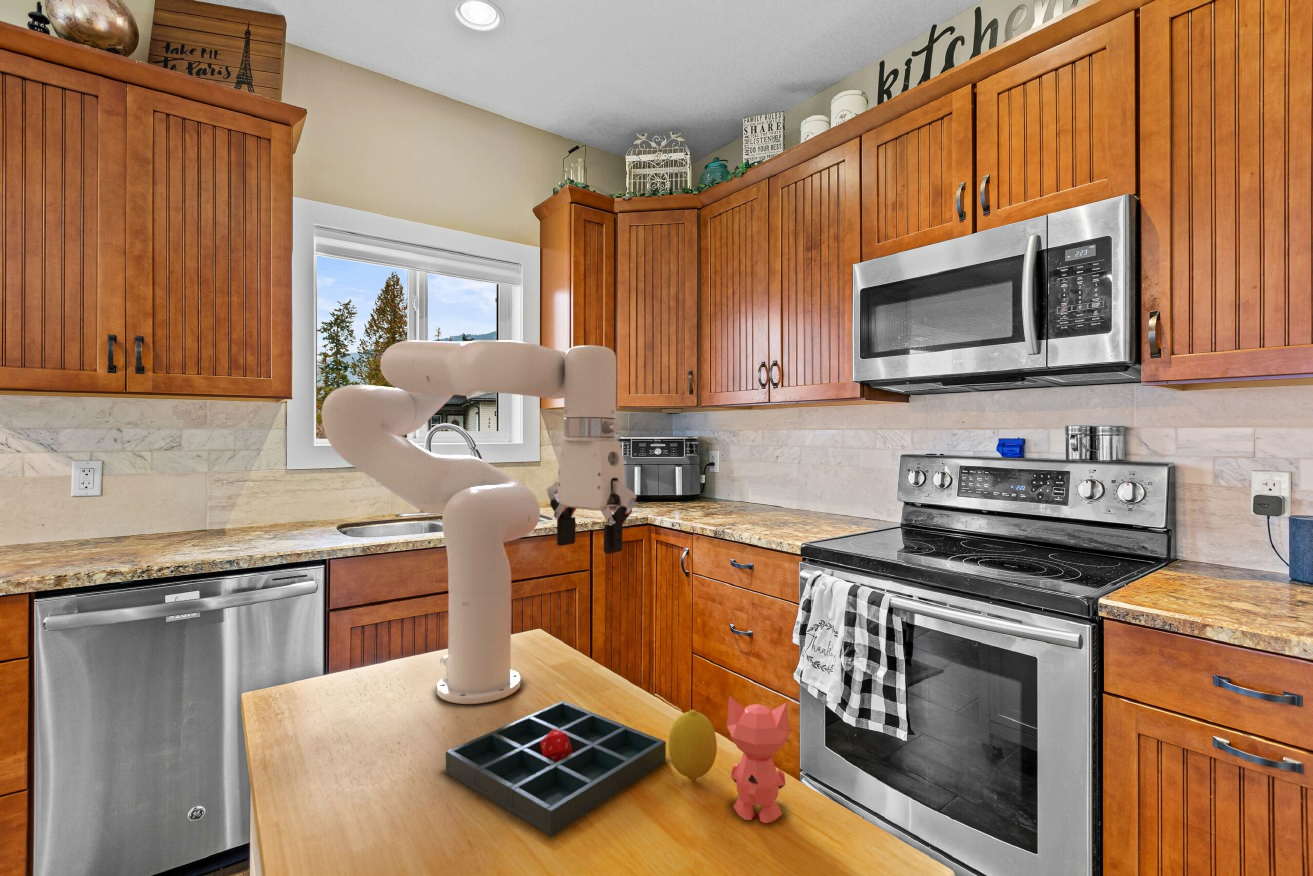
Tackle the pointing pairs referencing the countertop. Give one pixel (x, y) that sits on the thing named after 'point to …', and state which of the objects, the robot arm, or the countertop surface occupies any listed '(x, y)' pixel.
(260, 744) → the countertop surface
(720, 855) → the countertop surface
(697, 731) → the lemon
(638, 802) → the countertop surface
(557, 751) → the die
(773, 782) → the cat figurine
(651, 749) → the grid
